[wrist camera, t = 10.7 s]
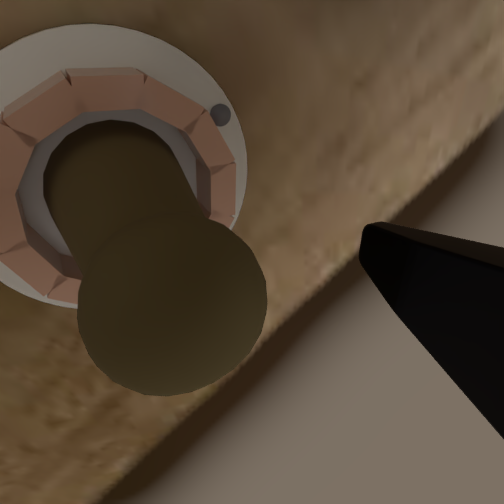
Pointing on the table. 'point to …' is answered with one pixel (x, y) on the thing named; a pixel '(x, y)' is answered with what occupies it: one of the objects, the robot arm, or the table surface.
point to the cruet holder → (95, 110)
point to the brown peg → (151, 263)
